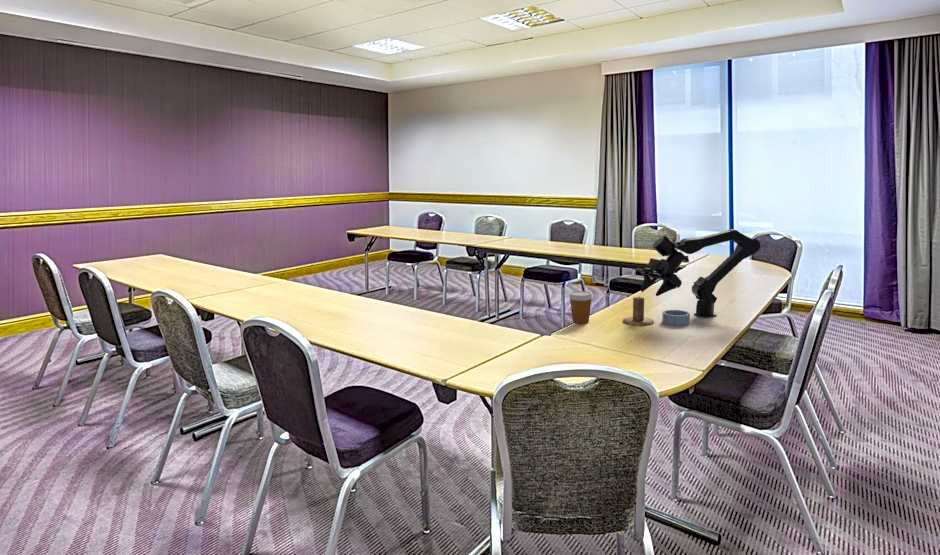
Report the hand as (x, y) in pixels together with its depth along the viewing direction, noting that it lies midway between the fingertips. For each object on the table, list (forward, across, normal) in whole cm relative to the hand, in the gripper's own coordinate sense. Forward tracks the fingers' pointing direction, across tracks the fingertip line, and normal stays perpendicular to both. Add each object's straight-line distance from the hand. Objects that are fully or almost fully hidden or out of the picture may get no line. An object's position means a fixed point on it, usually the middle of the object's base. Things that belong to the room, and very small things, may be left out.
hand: (648, 293), depth 240 cm
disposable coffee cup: (+26, -11, -10) cm, 30 cm away
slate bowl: (+3, +8, +13) cm, 15 cm away
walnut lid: (+12, 0, +4) cm, 12 cm away
